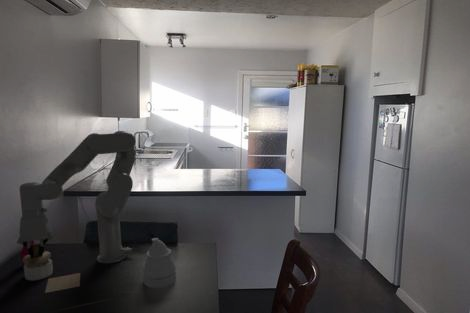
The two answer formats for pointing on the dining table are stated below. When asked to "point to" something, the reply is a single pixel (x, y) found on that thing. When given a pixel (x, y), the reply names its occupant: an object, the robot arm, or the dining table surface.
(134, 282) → the dining table surface
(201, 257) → the dining table surface
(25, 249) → the pepper mill
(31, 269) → the bowl
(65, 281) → the mat
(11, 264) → the dining table surface
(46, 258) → the lid
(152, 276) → the honey pot
